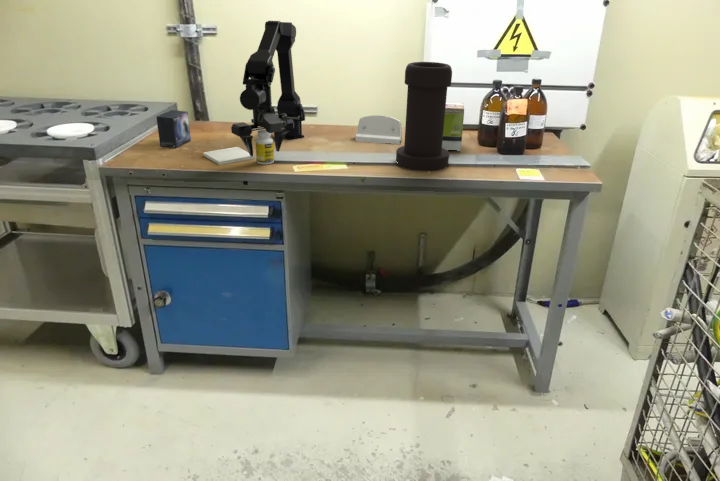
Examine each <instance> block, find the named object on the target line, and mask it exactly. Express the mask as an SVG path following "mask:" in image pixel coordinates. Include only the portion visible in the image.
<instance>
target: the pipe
mask: <svg viewBox="0 0 720 481" xmlns="http://www.w3.org/2000/svg"><path fill="white" fill-rule="evenodd" d="M452 79H453V69H452V67H451V65H450V64H448V63H443V62H437V61H432V62H431V61H415V62H414V61H413V62H409V63H408V64H407V65H406V67H405V70H404V85H406V86H407V92H406V93H407V94H406V98H407V99H406V111H405V112H406V114H405V126H404V145H402V146H400V147H398V148H397V149H396V152H395V154H396V156H395V162H396V161H397V162H398V165H397V166H399V167H401V168H403V169H406V170H410V171H418V172H434V171H441V170H443V169H446V168H448V167H449V159H450V158H449V157H450V152H449V151H448V150H446V149H443V148H442V141H443V130H444V119H445V108H446V103H447V95H448V94H447V93H448V88H449V87H451V86H452V81H453V80H452Z"/></svg>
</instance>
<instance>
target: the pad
mask: <svg viewBox="0 0 720 481" xmlns="http://www.w3.org/2000/svg"><path fill="white" fill-rule="evenodd" d="M202 154H203V156H204V157H205V158H207V159H209V160H210V161H212V162H214V163H215V164H218V165H219V166H221V165H227V164H232V163H238V162H243V161H248V160H255V158H256V156H255V155H256V154H255V155H254V154H253V156H250V154H249V152H248V150H247V151H246V150H245V149H242V148H241V147H239V146H234V147H228V148H222V149H215V150H210V151H205V152H203V153H202Z"/></svg>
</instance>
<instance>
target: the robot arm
mask: <svg viewBox="0 0 720 481" xmlns="http://www.w3.org/2000/svg"><path fill="white" fill-rule="evenodd" d="M296 36H297V27H296V26H295V24H293V22H291V21H290V22H289V21H288V22H287V21H280V20H268V21H265V23H264V32H263V34H262V37H261V40H260V42H259V45H258V48H257V50H256V51H255V52H253V53H252V54H251V55H250V56H249V58H248V60H247V62H246V63H245V66H244V67H245V68H244V73H243V78H242V85H245V89H244V90H243V91H242V92H241V93H240V94H239V102H240V104H241V106H242V107H243V108H244V109H246V110H249V111H252V118H251V120H250V122H251V123H252V124H248V123H246V122H243V121H242V122H238V123H237V122H236V123H232V125H231V128H230V129H231V130H230V131H231V134H233V135H235V136H236V137H239V138H240V139H241V141H242V143H243V145H244V146H245V148H246V150H247V152H249V154H250V156H253V155H254V151H253V150H254V149H253V138H254V136H253V135H252V134H253V132H254V131H259V130H266V131H267V132H268V133H271V134H273V137H274V146H275V147H274V148H275V151H276V152H280V151H281V146H282V143H283V140H284V138H285V139H287V140H293V139H300V138H304V137H305V135H304V134H303V132H302V131H303V129H302V127H303V126H302V123H303V122H305V121H306V113H305V109H304V107H303V104H302V102H301V98H300V96H299V94H298V93H297V92H296V88H295V78H294V66H293V54H292V48H293V46H294V44H295V43H296ZM275 52H276V53H277V61H278V63H277V64H278V71H279V82H280V90H281V94H280V97H279V99H278V101H277V106H276V110H277V112H275V111H276V110H275V107H274V106H272V105H273V104H272V89H271V88H272V83H273V80H274V77H275V73H276V68H275V64H274V62H273V58H274V56H275ZM276 113H277V114H276Z"/></svg>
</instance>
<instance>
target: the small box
mask: <svg viewBox="0 0 720 481" xmlns="http://www.w3.org/2000/svg"><path fill="white" fill-rule="evenodd" d="M155 118H156V125H157V131H158V142H159V147H160V148H167V149H169V148H170V149H177V148H180V147H181V146H184V145H186V144H187V143H189V142H192V140H191V139H192V138H191V128H190V118H189V111H185V110H174V109H172V110H169V111H166V112H163V113H161V114H159V115H158V114H157V115H156V116H155Z"/></svg>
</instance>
